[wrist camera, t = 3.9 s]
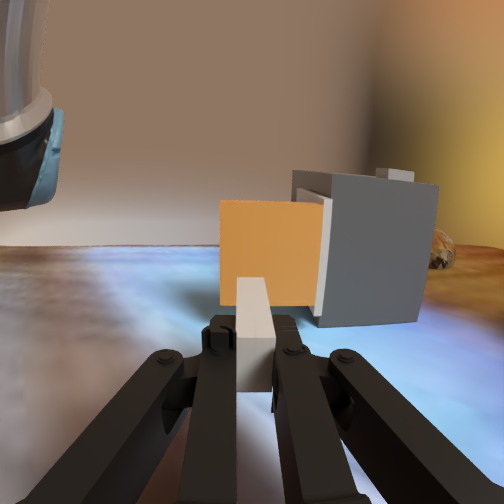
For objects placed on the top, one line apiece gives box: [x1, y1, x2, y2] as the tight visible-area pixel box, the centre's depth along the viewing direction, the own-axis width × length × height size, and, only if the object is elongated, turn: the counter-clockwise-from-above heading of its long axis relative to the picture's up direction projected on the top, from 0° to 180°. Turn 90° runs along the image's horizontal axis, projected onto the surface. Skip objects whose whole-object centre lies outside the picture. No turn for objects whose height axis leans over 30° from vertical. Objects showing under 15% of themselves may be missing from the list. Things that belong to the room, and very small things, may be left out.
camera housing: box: [291, 168, 439, 328], centre depth 37 cm, size 11×22×15 cm, turn 2°
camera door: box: [220, 188, 333, 316], centre depth 31 cm, size 9×12×10 cm
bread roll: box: [428, 228, 456, 269], centre depth 50 cm, size 10×10×8 cm
